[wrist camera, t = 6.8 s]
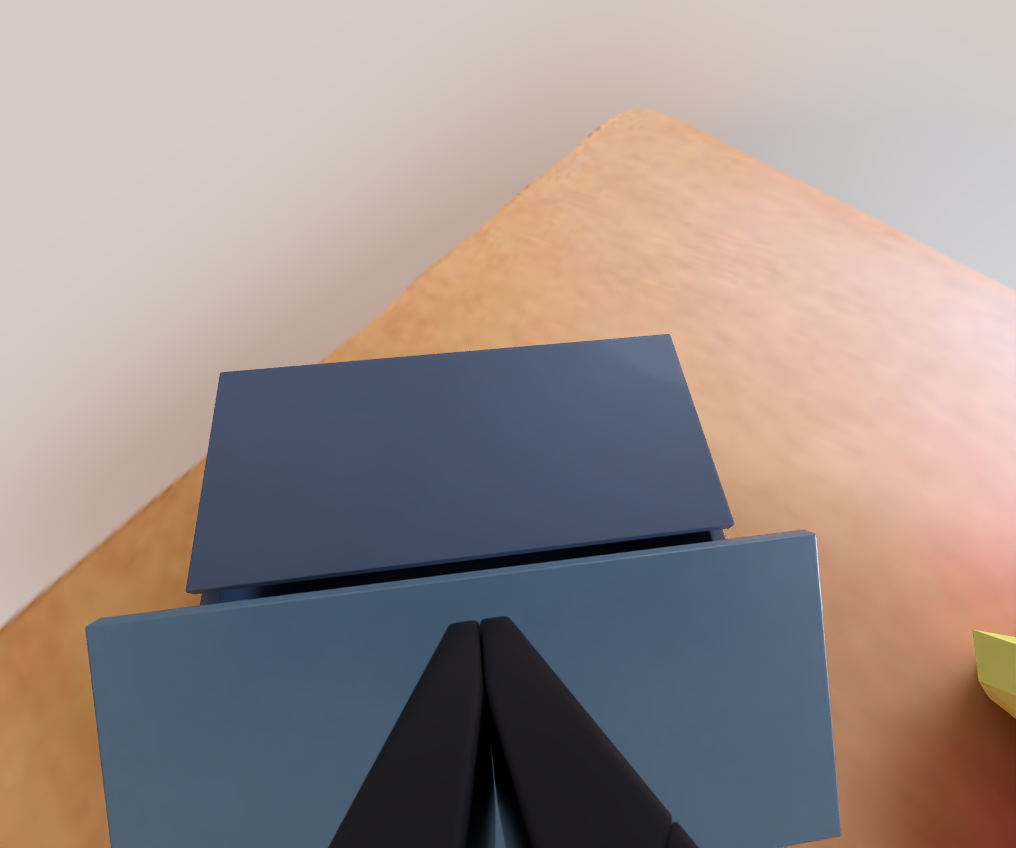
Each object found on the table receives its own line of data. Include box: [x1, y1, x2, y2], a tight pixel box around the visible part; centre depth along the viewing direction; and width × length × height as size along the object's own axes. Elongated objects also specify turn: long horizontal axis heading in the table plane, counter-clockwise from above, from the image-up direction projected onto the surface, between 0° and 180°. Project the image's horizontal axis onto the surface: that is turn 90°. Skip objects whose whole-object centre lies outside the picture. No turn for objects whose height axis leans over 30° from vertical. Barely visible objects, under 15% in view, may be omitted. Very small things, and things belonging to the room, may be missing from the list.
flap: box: [86, 530, 841, 848], centre depth 9 cm, size 6×13×1 cm, turn 99°
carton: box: [186, 334, 734, 606], centre depth 15 cm, size 12×13×8 cm
